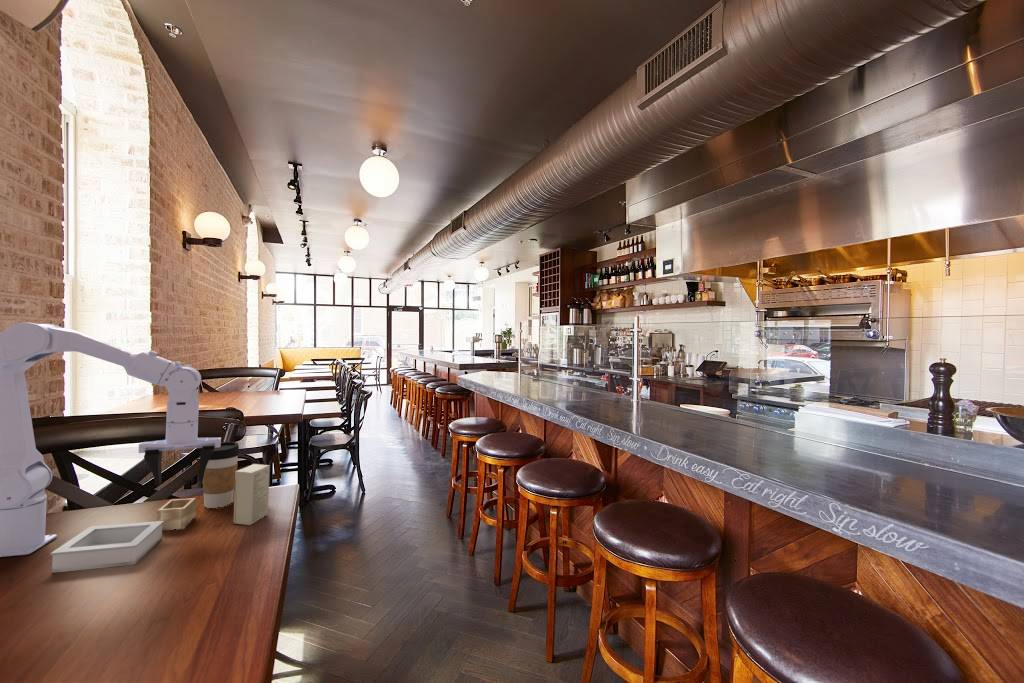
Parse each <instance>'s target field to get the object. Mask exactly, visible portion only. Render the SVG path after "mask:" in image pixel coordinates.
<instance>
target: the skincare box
mask: <svg viewBox="0 0 1024 683" xmlns="http://www.w3.org/2000/svg"><path fill="white" fill-rule="evenodd" d="M270 466H271V465H270V464H260V463H251V465H247V466H245V467H242V468H240V469H237V471H235V487H234V495H233V500H234V503H233V522H232V523H233V524H236V525H237V524H238V525H247V526H251V525H252V524H254V523H256V522H258V521H259V519H260V518H261V519H263V518H264V516H265V515H266V516H268V515H269V497H270V496H269V494H270V492H269V491H270V471H271V470H270V468H271V467H270ZM267 514H268V515H267ZM266 516H265V517H266ZM262 517H263V518H262ZM261 519H260V520H261ZM257 520H258V521H257Z"/></svg>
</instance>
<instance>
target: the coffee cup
mask: <svg viewBox="0 0 1024 683" xmlns="http://www.w3.org/2000/svg"><path fill="white" fill-rule="evenodd" d="M240 451H241V450H240V446H239V442H237V441H223V442H222V441H221V446H220V447H217V448H215V449H214V452H213V453H212V455H211V457H210V459H209V461H208V463H207V466H206V469H205V472H204V478H203V481H202V491H203V505H204V506H205V507H207V508H206V509H209V508H216V509H218V508H217V507H221V506H225V505H227V504H229V503H231V502H232V503H233V500H234V494H235V471H237V470H238V465H239V464H238V463H239V462H238V458H239V457H238V456H239V455H241V452H240ZM205 507H204V508H205Z"/></svg>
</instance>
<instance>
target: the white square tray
mask: <svg viewBox="0 0 1024 683" xmlns="http://www.w3.org/2000/svg"><path fill="white" fill-rule="evenodd" d="M163 523H164V521H157V520H156V521H155V520H154V521H142V522H131V523H122V524H121V523H117V524H103V525H94V526H93V525H92V526H91V525H90V526H89V527H87V528H86V529H84V530H83V531H81V532H80V533H79V534H77V535H76V536H74V537H72V538H71V539H70V540H68V541H66V542H65V543H63V544H62V545H60V546H59V547H58V548H56V549H54V550H53V551H52V552H50V556H52V561H51V562H52V563H51V564H52V565H51V566H52V571H51V573H52V574H53V573H54V574H56V573H64V572H73V571H74V572H75V571H85V570H94V569H95V570H96V569H104V568H105V569H106V568H111V567H113V568H114V567H122V566H134V565H136V564H137V563H138V562H139V561H140V560H141V559H142V558H143V557H145V555H147V553H149V551H150V550H151V549H152V548H154V546H156V545H157V544H158V543H159V542H160V541H161V540H162V537H163V531H162V524H163ZM158 541H159V542H158ZM157 542H158V543H157Z"/></svg>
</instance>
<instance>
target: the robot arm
mask: <svg viewBox="0 0 1024 683" xmlns="http://www.w3.org/2000/svg"><path fill="white" fill-rule="evenodd" d="M64 352H66V353H67V352H76V353H81V354H83V355H87V356H89V357H90V356H91V357H92V358H96V359H99V360H102V361H105V362H108V363H112V364H115V365H117V366H118V365H119V366H121V367H123V368H124V370H125V372H126V375H128V376H131V377H133V378H136V379H138V380H141V381H145V382H147V383H150V384H153V385H156V386H159V387H165V388H166V390H167V391H168V393H167V394H168V395H167V401H166V418H165V419H166V422H165V439H162V440H161V439H160V440H152V441H143V442H140V443H139V444H138V454H143V453H144V455H143V458H144V460H145V462H146V463H147V465H148V467H149V469H150V471H151V472H152V473H151V474H152V475H153V479H154V485H155V486H160V485H161V483H162V461H163V453H164V452H165V451H176V450H179V451H180V450H188V449H189V450H192V449H200V451H199V456H200V457H199V471H198V472H199V474H198V481H199V482H201V481H202V482H203V478H204V472H205V469H206V466H207V463H208V461H209V459H210V457H211V455H212V453H213V452H214V449H215V448H217V447H220V446H221V442H222V437H198V433H199V412H200V411H199V409H200V400H199V396H200V393H199V388H198V387H199V386H200V385H201V381H202V375H201V373H200V371H199V370H198V369H196V368H194V367H192V366H191V365H182V362H181V361H179V360H177V361H172V360H169V359H166V358H165V357H161V356H159V355H158V354H159V352H157V351H154V350H150V351H149V352H148V351H145V350H140V351H137V352H131V351H128V350H126V349H123V348H121V347H119V346H116V345H114V344H111V343H108V342H106V341H103V340H102V339H98V338H96V337H93V336H91V335H89V334H87V333H84V332H81V331H78V330H74V329H72V328H66V327H61V326H59V325H57V324H53V323H33V322H19V323H16V324H12V326H9V327H8V328H6V329H4V330H3V331H1V332H0V558H3V557H12V556H13V557H14V556H25V555H30V554H32V553H33V552H35V551H37V550H38V549H40V548H42V547H43V546H44V545H46V544H48V543H49V542H51V541H53V540H54V539H56V538H57V536H58V534H47V535H46V529H47V528H46V527H47V526H46V525H47V524H46V523H47V516H46V515H47V501H48V500H47V499H48V498H47V496H48V495H47V493H46V492H45V489H46V488H47V487H49V485H50V484H51V482H52V480H53V471H52V470H51V468H50V467H49V466H48V465H47V464H46V463H45V461H44V460H45V459H44V455H43V454H42V453H41V452H40V451H39V450H38V449H37V447H36V441H35V440H36V439H35V435H34V434H35V432H34V428H33V426H34V425H33V420H32V414H31V407H30V401H29V395H28V388H27V382H26V375H25V372H26V371H27V370H29V369H30V368H31V367H32V366H34V365H35V364H37V363H38V362H40V360H42V359H44V358H46V357H49V356H51V355H54V354H56V353H64Z"/></svg>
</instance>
